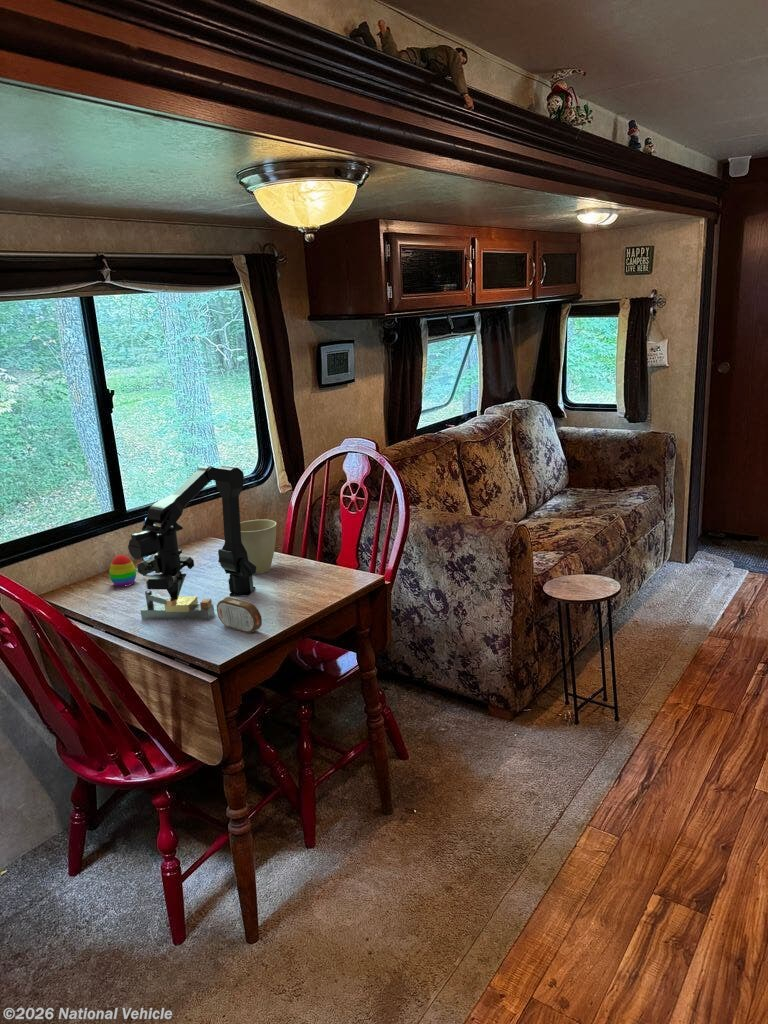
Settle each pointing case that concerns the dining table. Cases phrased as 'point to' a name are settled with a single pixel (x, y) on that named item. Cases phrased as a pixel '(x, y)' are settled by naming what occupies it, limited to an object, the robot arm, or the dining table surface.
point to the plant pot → (259, 542)
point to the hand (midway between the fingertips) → (175, 601)
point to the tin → (239, 615)
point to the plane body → (197, 613)
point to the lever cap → (183, 604)
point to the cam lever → (159, 599)
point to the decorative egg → (122, 571)
